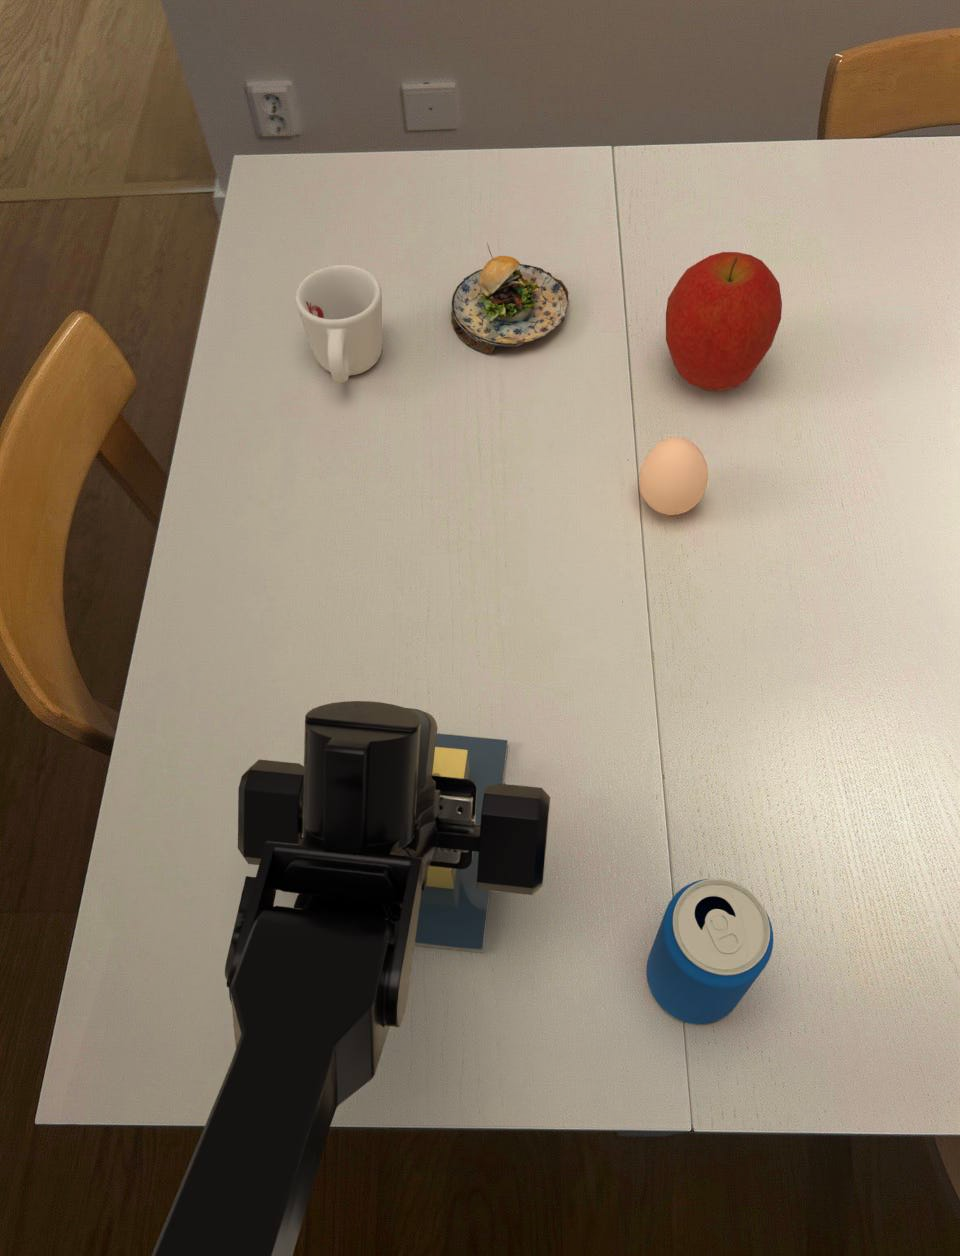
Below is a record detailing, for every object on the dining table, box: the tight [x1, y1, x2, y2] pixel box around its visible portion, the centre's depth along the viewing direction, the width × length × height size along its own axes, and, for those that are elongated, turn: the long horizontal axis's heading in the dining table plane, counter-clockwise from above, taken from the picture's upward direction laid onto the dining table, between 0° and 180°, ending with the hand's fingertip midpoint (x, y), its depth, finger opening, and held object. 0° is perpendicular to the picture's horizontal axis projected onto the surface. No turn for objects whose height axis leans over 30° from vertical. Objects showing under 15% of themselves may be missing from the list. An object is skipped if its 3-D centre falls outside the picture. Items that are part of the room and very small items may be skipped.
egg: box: [638, 436, 709, 516], centre depth 90 cm, size 6×6×8 cm
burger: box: [450, 243, 570, 355], centre depth 104 cm, size 12×12×8 cm
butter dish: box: [414, 732, 509, 954], centre depth 76 cm, size 16×11×5 cm
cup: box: [295, 264, 383, 383], centre depth 100 cm, size 11×8×8 cm
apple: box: [665, 251, 783, 392], centre depth 96 cm, size 10×10×14 cm
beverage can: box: [646, 878, 774, 1025], centre depth 67 cm, size 6×6×12 cm
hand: (416, 777), depth 73 cm, fingers closed on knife, 2 cm apart
